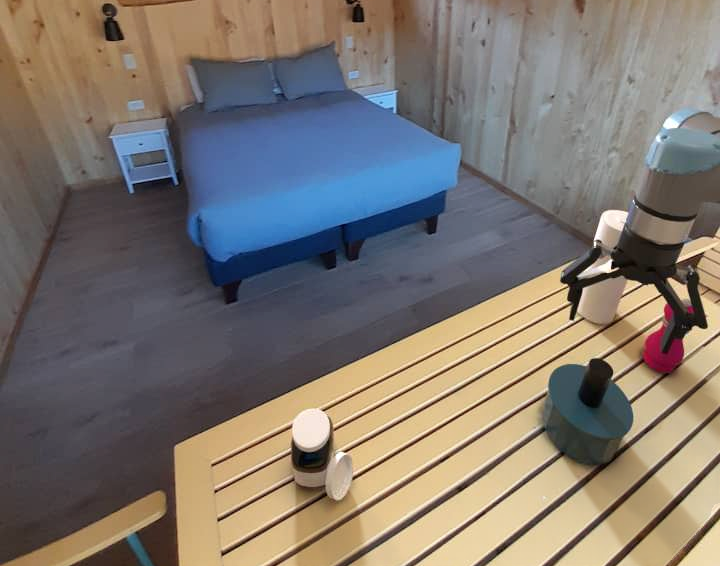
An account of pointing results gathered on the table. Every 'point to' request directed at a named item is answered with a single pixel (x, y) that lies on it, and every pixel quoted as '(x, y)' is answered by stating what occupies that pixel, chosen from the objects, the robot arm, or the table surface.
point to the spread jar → (319, 455)
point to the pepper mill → (653, 346)
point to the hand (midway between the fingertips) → (615, 330)
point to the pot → (576, 439)
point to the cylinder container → (607, 294)
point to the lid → (591, 399)
